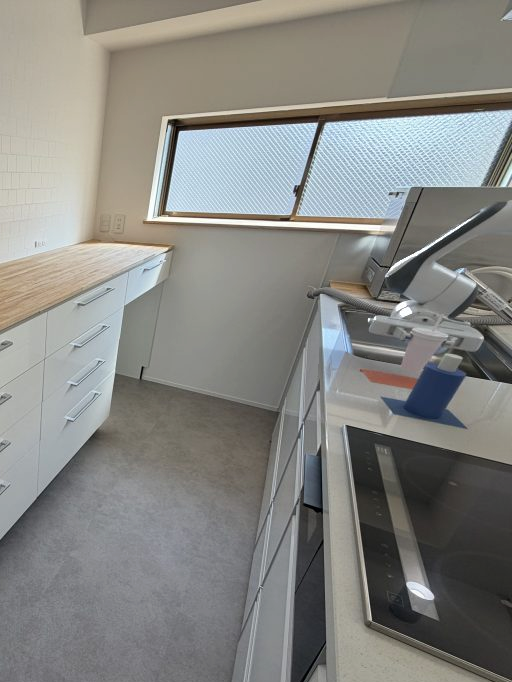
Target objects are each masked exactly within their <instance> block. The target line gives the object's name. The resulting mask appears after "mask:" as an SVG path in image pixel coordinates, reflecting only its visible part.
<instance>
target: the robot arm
mask: <svg viewBox="0 0 512 682" xmlns="http://www.w3.org/2000/svg"><path fill="white" fill-rule="evenodd" d="M486 235H487V236H488V235H503V236H512V199H510V200H505V201H501V200H500V201H495V202H492V203H491V204H489V205H487V206H485V207H483V208H481V209H480V210H478V211H477V212H475V213H473V214H472V215H470V216H468V217H467V218H465V219H464V220H462V221H460V222H459V223H458V224H456V225H455V226H453V227H452V228H450V229H449V230H447V231H446V232H444V233H442V234H441V235H439V236H438V237H436V238H435V239H433V240H432V241H431V242H429V243H428V244H426V245H425V246H423V247H421V248H419V249H418V250H417V251H415V252H413V253H412V254H409V255H408V256H407V257H405V258H403V259H402V260H400V261H398V262H396V263H395V264H393V266H392V267H391V268H389V270H388V271H387V273H386V274H385V276H384V279H385V285H386V288H387V290H389V291H391V292H394V293H396V294H399V295H401V296H403V297H406V298H407V299H409V300H405V301H401V302H400V303H398V304H397V305H395V306H394V308H393V309H392V310H391V313H390V316H388V315H381V314H380V315H379V314H378V315H374V317H373V318H371V317H369V318H368V319H367V323H368V324H370V326H369V327H368V332H369V333H371V334H374V335H378V336H384V337H390V338H395V339H399V340H400V341H402V342H403V343H405V344H408V343H409V340H410V337H411V336H412V334H411V331H412V329H413V328H426V329H433V328H434V326H435V324H436V322H437V320H438V318H439V316H440V315H441V314H444V316H443V318H442V319H441V321H440V323H439V325H438V327H437V329H436V331H440V332H443V333H446V334H447V335H448V338H447V340H445V341H444V342H443V343H442V344H441V346H440V347H441V348H444V349H456V350H460V351H467V352H470V353H471V352H472V353H473V352H477V351H478V350H479V349H480V348H481V346H482V344H483V342H484V340H485V337H484V335H483V334H482V333H481V332H480V331H479V330H478V329H476V328H474V327H472V326H471V325H472V324H471V323H470V322H469V321H466V320H464V319H459V318H457V317H458V316H460V315H461V314H462V313H464V312H466V310H468V309H469V308H470V307H471V306H472V305H473V304H474V303H475V301H476V300H477V296H478V292H479V284H478V282H477V281H475V280H473V279H472V278H469V277H467V276H465V275H463V274H461V273H459V272H456V271H454V270H452V269H450V268H448V267H446V266H444V265H441V264H440V263H438V262H436V261H438V260H439V259H441V258H443V257H444V256H446V255H447V254H448V253H450V252H452V251H454V250H455V249H457V248H458V247H460V246H461V245H463V244H465V243H467V242H468V241H470V240H472V239H474V238H477V237H481V236H486Z"/></svg>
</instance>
